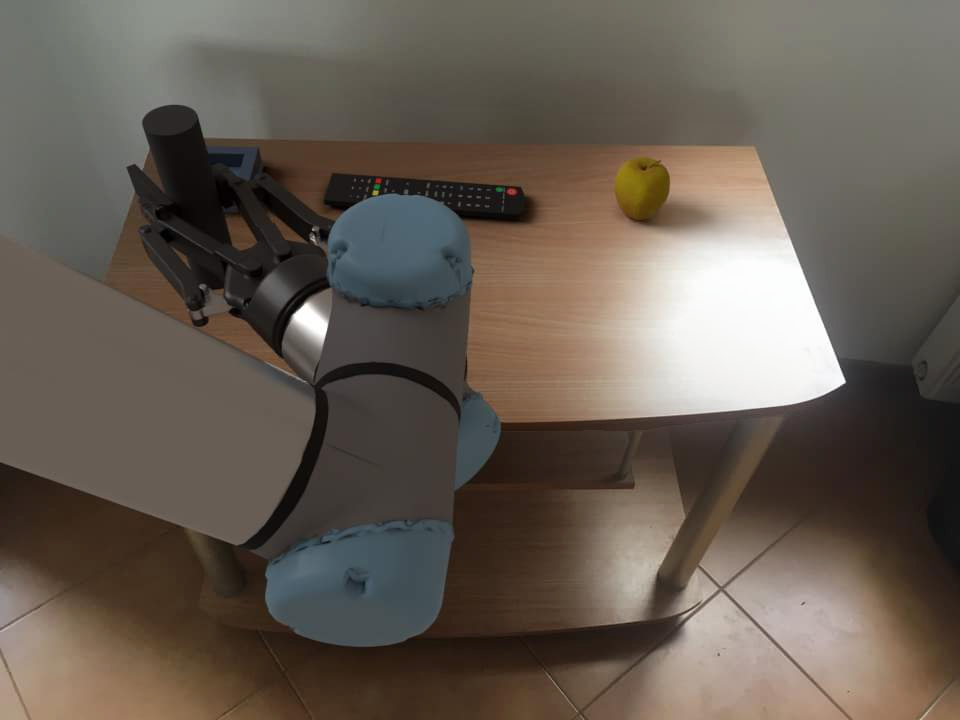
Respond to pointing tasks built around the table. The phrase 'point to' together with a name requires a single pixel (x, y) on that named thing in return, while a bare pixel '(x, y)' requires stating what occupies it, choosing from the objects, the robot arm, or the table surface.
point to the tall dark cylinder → (187, 176)
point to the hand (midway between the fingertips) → (161, 168)
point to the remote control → (430, 194)
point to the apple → (641, 187)
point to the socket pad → (237, 163)
